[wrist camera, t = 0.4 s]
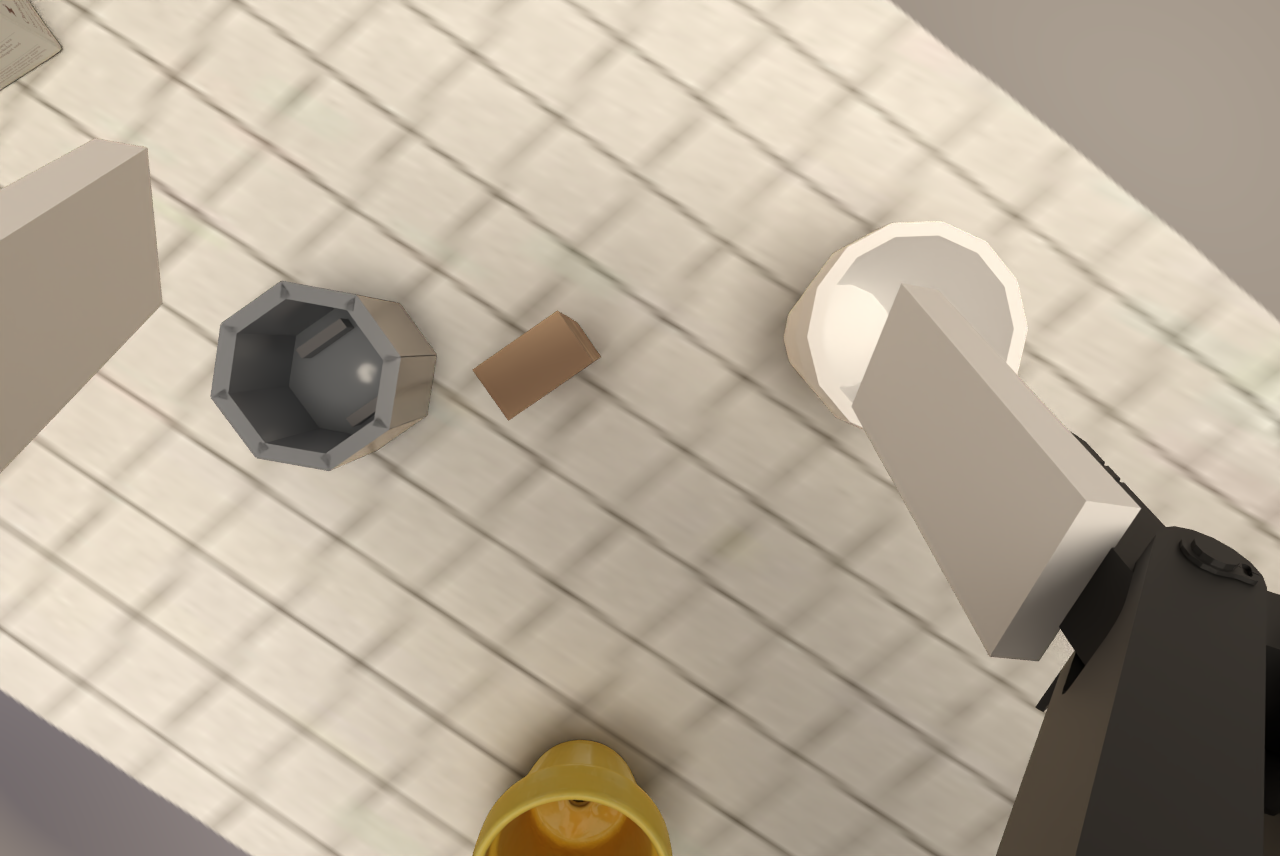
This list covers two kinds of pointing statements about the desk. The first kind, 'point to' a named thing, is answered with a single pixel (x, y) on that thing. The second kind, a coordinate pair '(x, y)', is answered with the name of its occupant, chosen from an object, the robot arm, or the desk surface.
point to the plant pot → (575, 809)
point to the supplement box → (22, 40)
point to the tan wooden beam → (536, 363)
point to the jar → (321, 375)
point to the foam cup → (865, 291)
